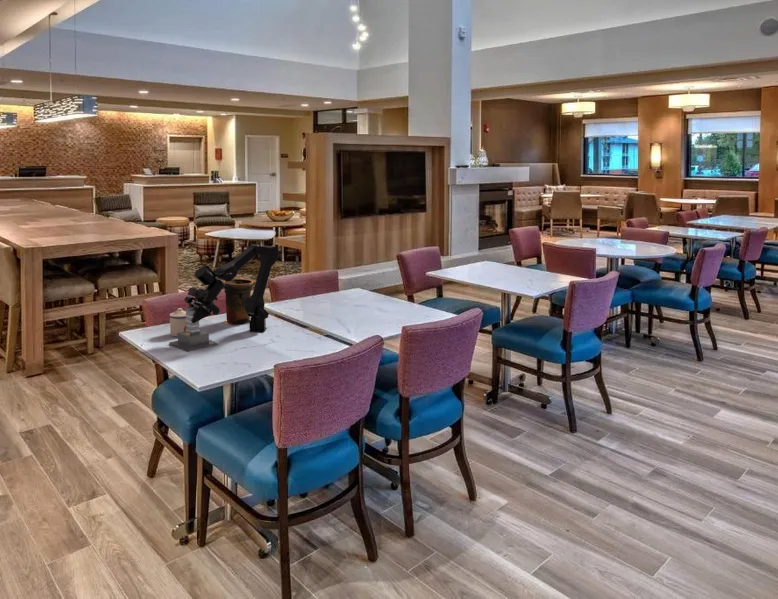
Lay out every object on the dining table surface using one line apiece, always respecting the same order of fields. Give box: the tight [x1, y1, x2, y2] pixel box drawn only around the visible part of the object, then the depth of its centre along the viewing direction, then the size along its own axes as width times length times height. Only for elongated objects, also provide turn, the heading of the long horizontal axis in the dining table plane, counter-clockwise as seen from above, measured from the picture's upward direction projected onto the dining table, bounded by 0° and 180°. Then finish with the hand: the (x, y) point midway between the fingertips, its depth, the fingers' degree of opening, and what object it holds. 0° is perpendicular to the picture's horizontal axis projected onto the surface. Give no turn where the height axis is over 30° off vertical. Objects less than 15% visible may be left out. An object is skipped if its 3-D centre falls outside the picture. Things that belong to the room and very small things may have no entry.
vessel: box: [222, 278, 254, 326], centre depth 299 cm, size 14×14×20 cm
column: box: [184, 306, 201, 335], centre depth 259 cm, size 5×4×12 cm
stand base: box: [168, 330, 219, 353], centre depth 261 cm, size 14×14×6 cm
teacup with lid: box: [169, 307, 187, 338], centre depth 277 cm, size 12×9×12 cm
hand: (189, 321), depth 258 cm, fingers closed on column, 4 cm apart
